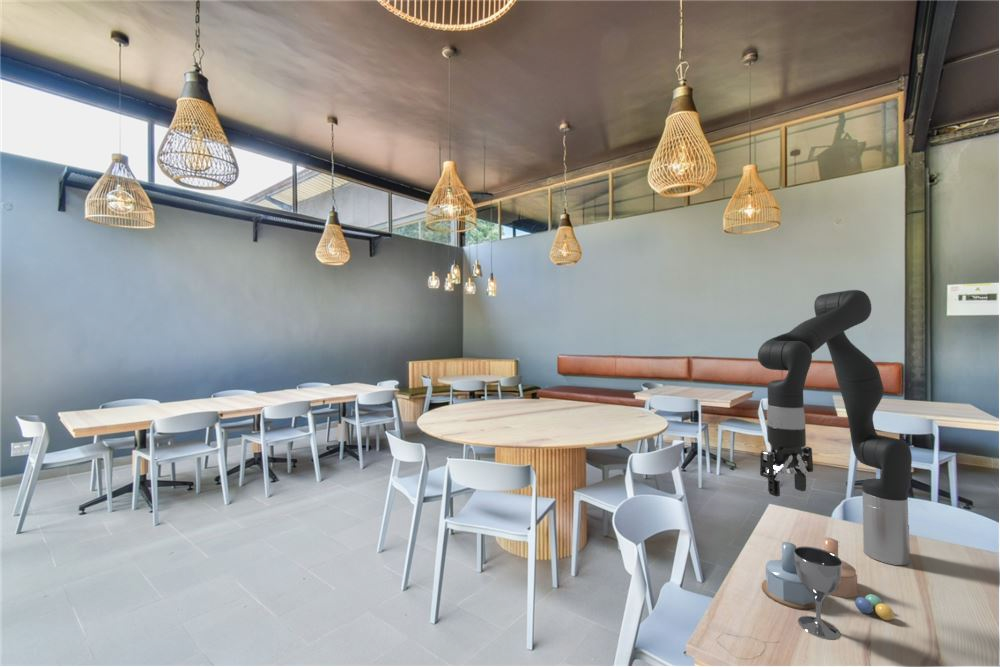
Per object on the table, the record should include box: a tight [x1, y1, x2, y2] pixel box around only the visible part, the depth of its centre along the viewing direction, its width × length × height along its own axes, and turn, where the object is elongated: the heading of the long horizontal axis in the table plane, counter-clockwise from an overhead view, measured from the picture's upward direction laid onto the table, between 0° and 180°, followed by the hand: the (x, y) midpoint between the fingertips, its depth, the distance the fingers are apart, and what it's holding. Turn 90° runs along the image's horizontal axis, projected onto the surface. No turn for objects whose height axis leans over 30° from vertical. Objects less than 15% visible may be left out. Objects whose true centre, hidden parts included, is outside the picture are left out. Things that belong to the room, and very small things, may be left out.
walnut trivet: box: [761, 579, 816, 611], centre depth 98 cm, size 11×11×1 cm
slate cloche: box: [765, 541, 815, 605], centre depth 98 cm, size 9×9×11 cm
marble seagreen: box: [864, 594, 884, 611], centre depth 93 cm, size 3×3×3 cm
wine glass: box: [794, 546, 843, 640], centre depth 87 cm, size 8×8×15 cm
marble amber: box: [874, 603, 895, 621], centre depth 89 cm, size 3×3×3 cm
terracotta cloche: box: [823, 537, 858, 599], centre depth 101 cm, size 9×9×11 cm
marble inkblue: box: [854, 596, 874, 614], centre depth 91 cm, size 3×3×3 cm
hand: (787, 492), depth 98 cm, fingers open, 8 cm apart
